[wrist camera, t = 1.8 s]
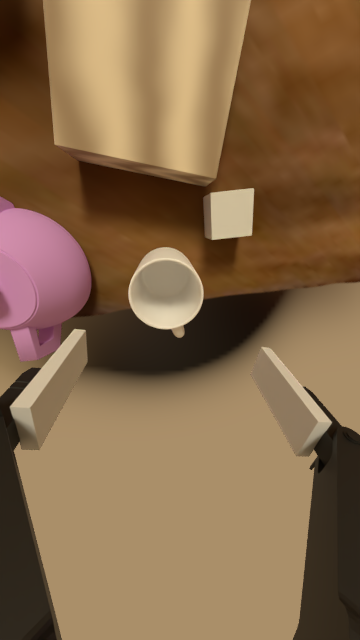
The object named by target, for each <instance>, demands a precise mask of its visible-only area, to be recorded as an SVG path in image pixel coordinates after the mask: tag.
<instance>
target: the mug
mask: <svg viewBox="0 0 360 640" xmlns="http://www.w3.org/2000/svg"><path fill="white" fill-rule="evenodd" d="M128 296H129V302H130V305H131V308H132V310H133V311H134V313H135V314H136V315H137V317H138V318H139V319H140V320H141V321H143V322H144V323H146V324H147V325H149V326H152V327H154V328H158V329H172V331H173V333H174V335H175V336H176V337H178V338H181V337H183V336H184V333H185V332H184V326H183V325H185V324H186V323H188V322H189V321H191V320H192V319H193V318H194V317H195V316H196V314H197V313H198V311H199V310H200V307H201V305H202V302H203V286H202V282H201V280H200V278H199V276H198V274H197V273H196V271H195V270H194V268H193V266H192V265H191V263H190V261H189V260H188V259H187V257H186V256H185V255H184V254H182V253H181V252H180V251H178V250H176V249H173V248H168V247H162V248H157V249H154V250H152V251H151V252H149V253H148V254H147V255H146V256H145V257H144V258H143V259H142V261H141V262H140V264H139V266H138V268H137V270H136V272H135V273H134V275H133V277H132V279H131V282H130V285H129V291H128Z"/></svg>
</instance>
